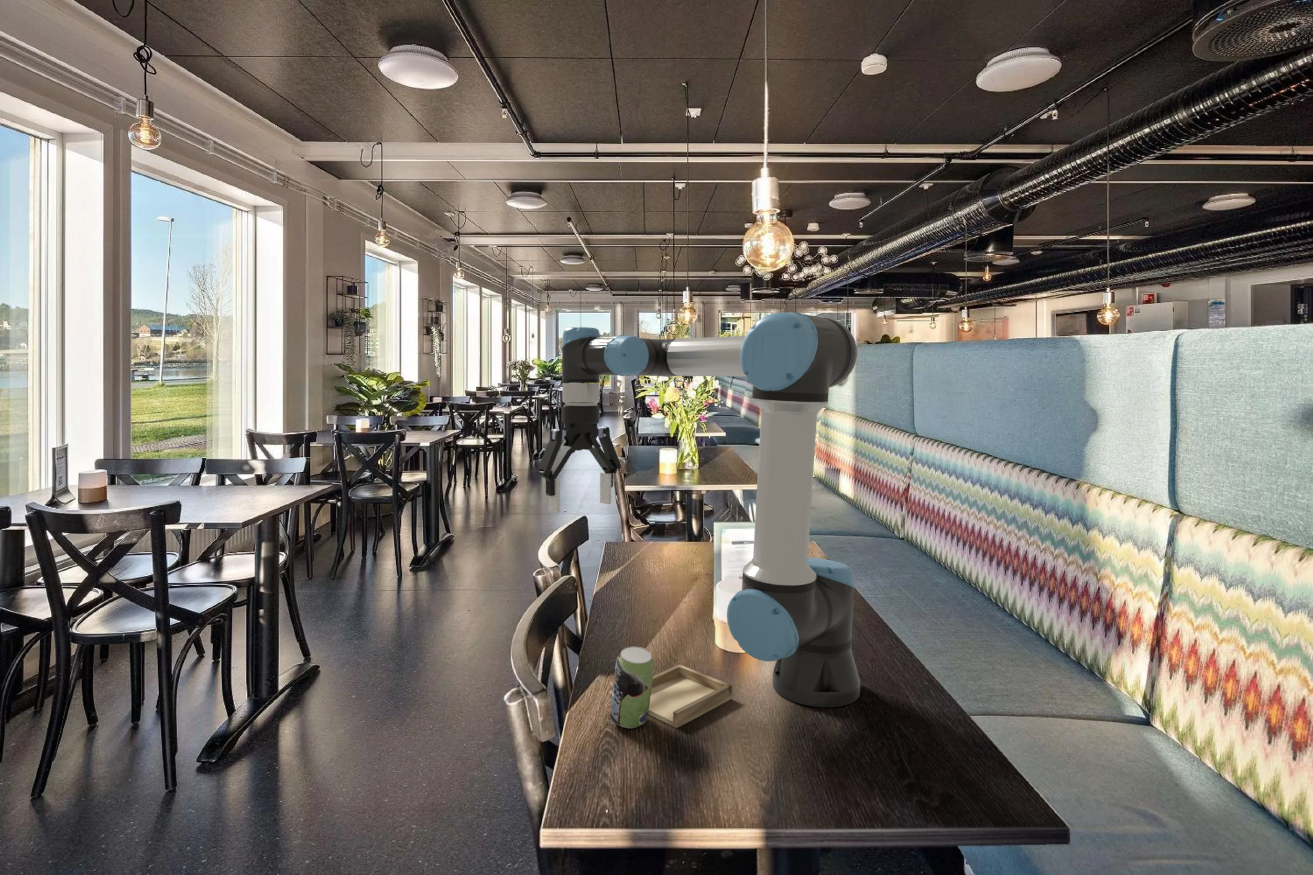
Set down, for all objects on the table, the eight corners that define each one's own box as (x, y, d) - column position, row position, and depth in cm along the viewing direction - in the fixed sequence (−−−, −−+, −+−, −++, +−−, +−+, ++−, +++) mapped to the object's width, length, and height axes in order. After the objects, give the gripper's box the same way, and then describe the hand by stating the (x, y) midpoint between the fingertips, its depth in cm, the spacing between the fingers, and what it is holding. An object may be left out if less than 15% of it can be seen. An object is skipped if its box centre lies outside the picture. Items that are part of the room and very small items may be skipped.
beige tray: (731, 698, 118) (731, 685, 117) (676, 728, 107) (677, 713, 107) (679, 676, 126) (679, 664, 126) (623, 702, 116) (624, 688, 115)
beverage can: (627, 708, 113) (628, 638, 112) (662, 723, 109) (663, 650, 108) (601, 723, 109) (601, 649, 108) (636, 739, 104) (637, 662, 103)
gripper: (614, 402, 151) (613, 497, 153) (518, 404, 133) (519, 512, 135) (637, 403, 146) (636, 502, 148) (541, 406, 128) (542, 518, 130)
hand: (580, 507), depth 141 cm, fingers open, 13 cm apart
